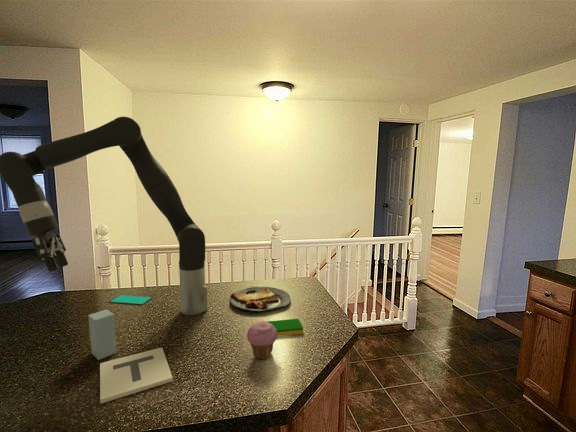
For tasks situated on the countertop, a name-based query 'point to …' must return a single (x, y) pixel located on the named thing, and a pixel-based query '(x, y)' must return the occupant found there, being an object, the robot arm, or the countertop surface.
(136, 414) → the countertop surface
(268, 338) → the cupcake
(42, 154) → the robot arm
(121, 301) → the smartphone
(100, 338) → the grey rectangular block
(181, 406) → the countertop surface
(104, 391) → the board
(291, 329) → the dish sponge
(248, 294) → the food plate
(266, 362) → the countertop surface
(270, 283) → the countertop surface
